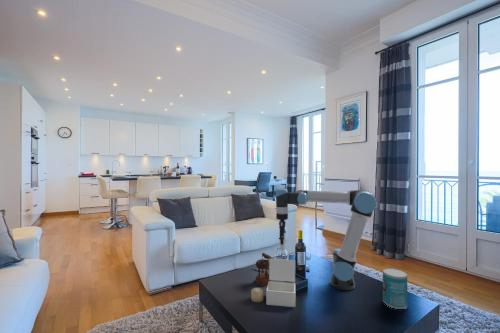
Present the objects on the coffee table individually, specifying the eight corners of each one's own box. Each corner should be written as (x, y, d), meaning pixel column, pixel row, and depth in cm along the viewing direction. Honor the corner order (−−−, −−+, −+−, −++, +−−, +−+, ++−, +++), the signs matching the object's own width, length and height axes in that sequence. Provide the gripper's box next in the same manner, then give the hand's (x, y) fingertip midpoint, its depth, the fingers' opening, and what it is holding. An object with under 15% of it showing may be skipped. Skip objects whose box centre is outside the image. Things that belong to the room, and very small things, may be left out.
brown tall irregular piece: (274, 279, 176) (274, 251, 174) (272, 288, 165) (272, 258, 163) (253, 277, 179) (252, 249, 177) (249, 285, 168) (249, 256, 166)
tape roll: (264, 296, 153) (263, 288, 153) (262, 302, 146) (262, 294, 146) (252, 295, 154) (252, 287, 154) (250, 301, 147) (250, 292, 147)
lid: (295, 281, 153) (295, 281, 154) (294, 260, 155) (294, 260, 156) (269, 279, 156) (269, 279, 157) (269, 258, 158) (269, 258, 159)
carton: (295, 296, 153) (295, 283, 153) (295, 307, 141) (295, 293, 141) (268, 294, 156) (268, 281, 156) (266, 304, 144) (266, 290, 144)
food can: (378, 302, 146) (378, 270, 146) (391, 296, 151) (391, 266, 151) (398, 312, 135) (398, 278, 135) (412, 306, 141) (412, 274, 141)
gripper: (277, 209, 178) (278, 240, 178) (274, 216, 154) (275, 252, 154) (288, 209, 177) (289, 240, 177) (287, 216, 153) (287, 252, 153)
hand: (282, 246), depth 166 cm, fingers open, 12 cm apart
